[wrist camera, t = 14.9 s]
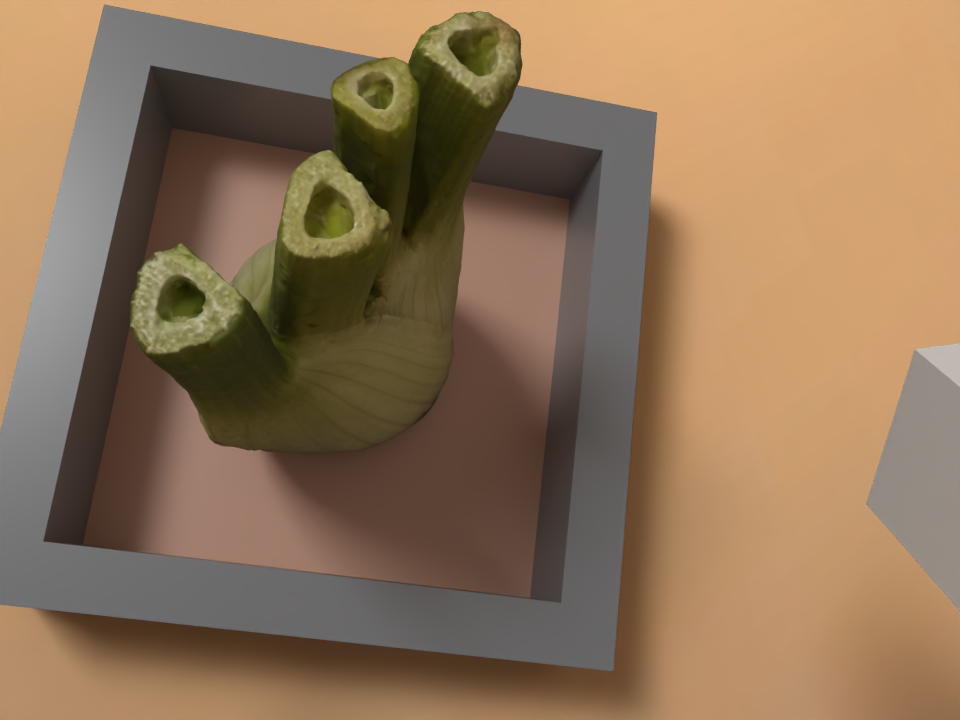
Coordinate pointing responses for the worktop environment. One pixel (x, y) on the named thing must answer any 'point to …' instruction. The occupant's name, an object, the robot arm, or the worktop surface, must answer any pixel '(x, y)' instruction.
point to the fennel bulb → (344, 262)
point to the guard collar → (344, 475)
